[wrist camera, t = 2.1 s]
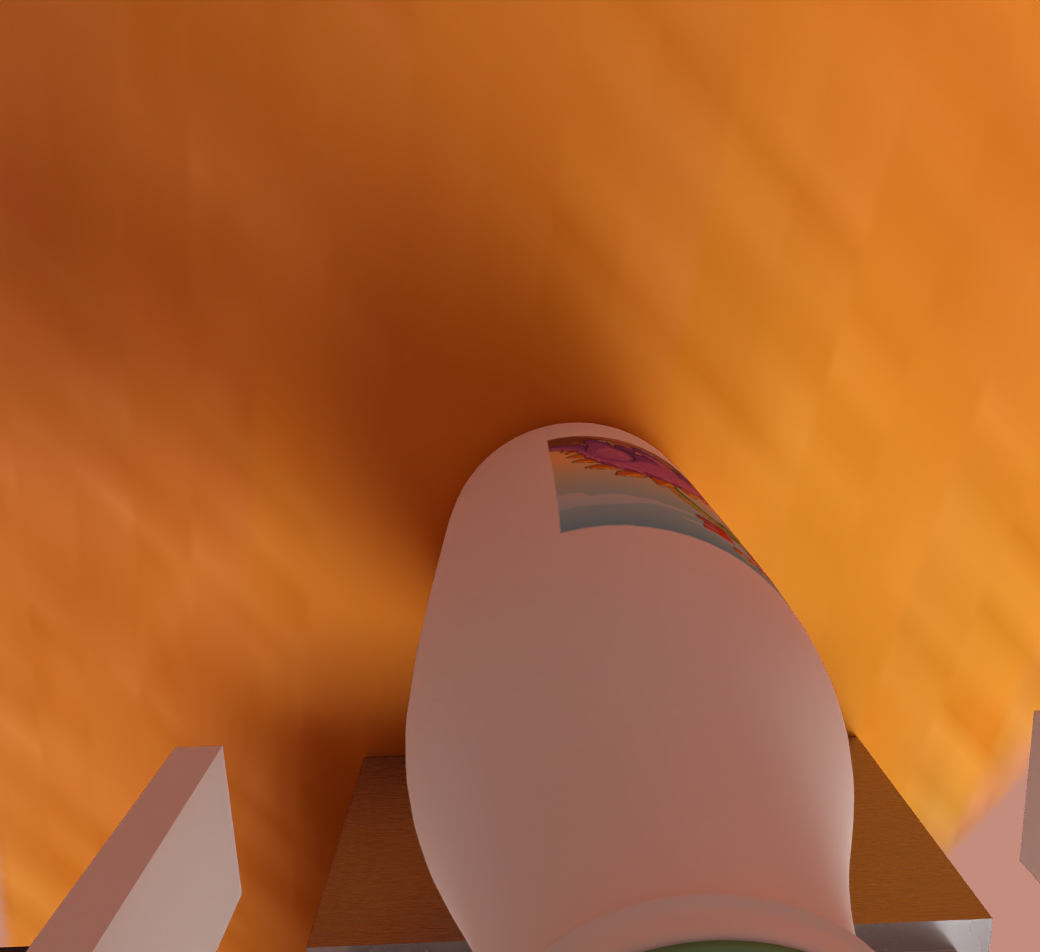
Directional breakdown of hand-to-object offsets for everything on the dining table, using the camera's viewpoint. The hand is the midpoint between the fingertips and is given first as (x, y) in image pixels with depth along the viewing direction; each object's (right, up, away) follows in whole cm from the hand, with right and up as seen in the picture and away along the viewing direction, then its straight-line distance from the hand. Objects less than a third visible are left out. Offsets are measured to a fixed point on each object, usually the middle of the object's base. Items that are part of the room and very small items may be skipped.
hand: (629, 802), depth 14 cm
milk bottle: (0, +3, +12) cm, 13 cm away
